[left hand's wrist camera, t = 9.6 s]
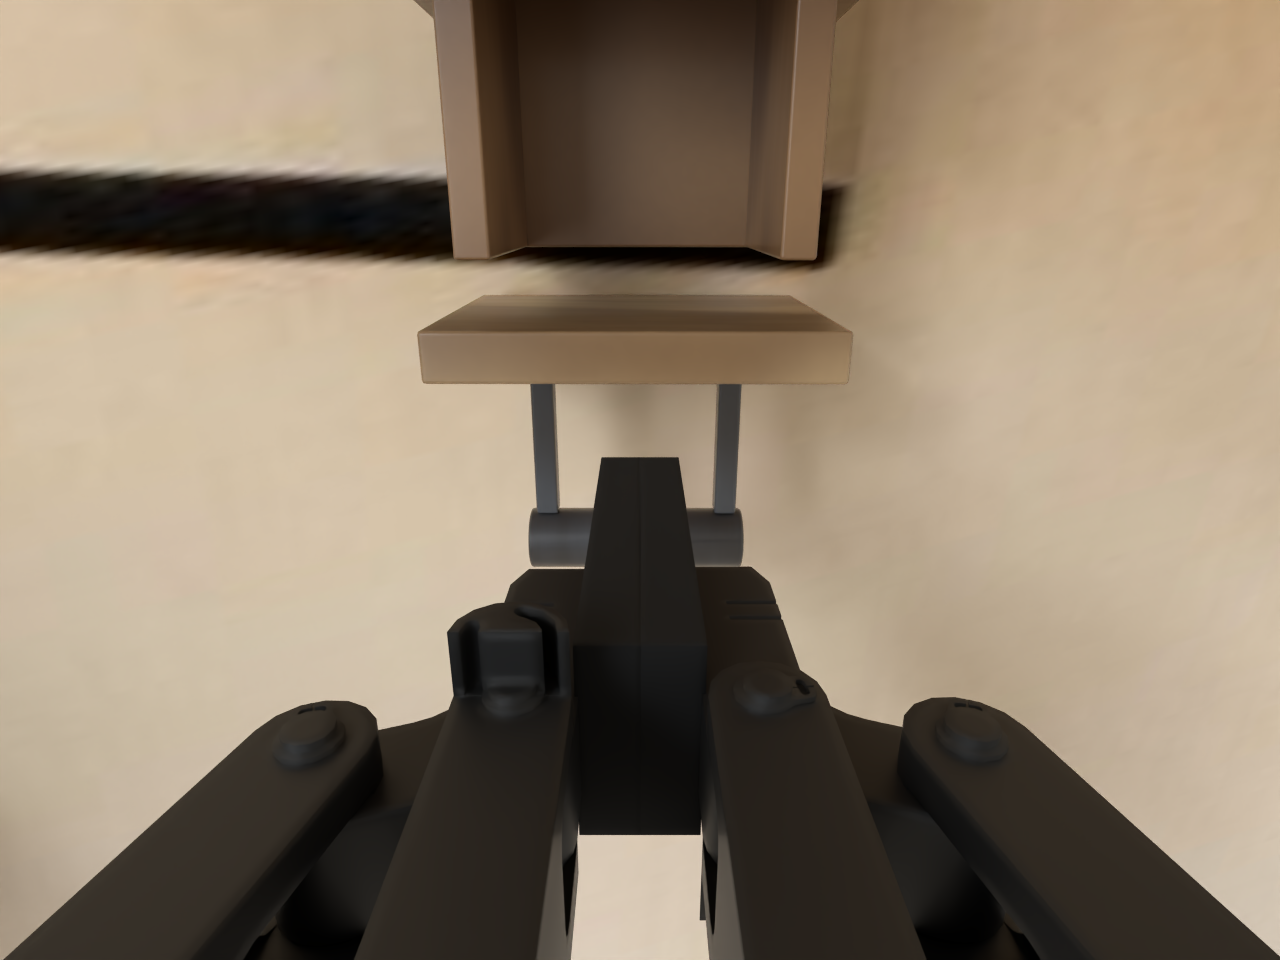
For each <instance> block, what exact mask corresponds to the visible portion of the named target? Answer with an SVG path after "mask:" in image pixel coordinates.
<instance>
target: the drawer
mask: <svg viewBox="0 0 1280 960" xmlns="http://www.w3.org/2000/svg"><path fill="white" fill-rule="evenodd" d="M432 3H433V15H434V27H435V39H436V51H437V63H438V75H439V87H440V99H441V111H442V122H443V134H444V146H445V158H446V170H447V182H448V194H449V206H450V218H451V230H452V242H453V254H454V258H455V259H456V260H489V259H492V258H495V257H497V256H500V255H503V254H506V253H509V252H512V251H515V250H518V249H521V248H524V247H749V248H752V249H754V250H757V251H760V252H762V253H765V254H768V255H771V256H773V257H776V258H779V259H781V260H814V259H816V256H817V245H818V232H819V220H820V208H821V195H822V183H823V171H824V158H825V146H826V134H827V122H828V109H829V97H830V85H831V72H832V60H833V48H834V36H835V23H836V11H837V0H432ZM417 337H418V346H419V356H420V366H421V375H422V381H423V383H425V384H530V386H531V405H532V424H533V443H534V463H535V482H536V501H537V508H534V509H533V510H532V512H531V515H530V522H529V556H530V562H531V565H532V566H534V567H585V562H586V555H587V549H588V542H589V536H590V529H591V523H592V516H593V510H594V508H559V506H560V495H559V470H558V445H557V421H556V396H555V384H717V400H716V426H715V452H714V478H713V504H712V505H713V508H686V510H687V516H688V523H689V529H690V536H691V542H692V549H693V555H694V562H695V567H739V566H740V565H741V562H742V557H743V521H742V515H741V511H740V509H738V508H735V504H736V484H737V464H738V444H739V425H740V405H741V385H742V384H846V383H848V380H849V371H850V361H851V351H852V341H853V333H852V332H851V331H849V330H848V329H846V328H844V327H842V326H841V325H839V324H837V323H836V322H834V321H832V320H831V319H829V318H827V317H825V316H824V315H822V314H820V313H819V312H817V311H815V310H814V309H812V308H810V307H808V306H807V305H805V304H803V303H802V302H800V301H798V300H796V299H795V298H793V297H791V296H766V295H483V296H481V297H480V298H478V299H476V300H474V301H472V302H471V303H469V304H467V305H465V306H463V307H462V308H460V309H458V310H456V311H455V312H453V313H451V314H449V315H447V316H446V317H444V318H442V319H440V320H438V321H437V322H435V323H433V324H431V325H429V326H428V327H426V328H424V329H422V330H421V331H419V332H418V334H417Z"/></svg>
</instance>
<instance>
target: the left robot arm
mask: <svg viewBox="0 0 1280 960" xmlns="http://www.w3.org/2000/svg"><path fill="white" fill-rule="evenodd" d="M447 636H448V646H449V655H450V665H451V674H452V684H453V693H454V697H453V699H452V702H451V705H450V707H449V710H447V711H445V712H443V713H441V714H438V715H436V716H434V717H431V718H428V719H425V720H421V721H418V722H414V723H410V724H405V725H401V726H396V727H391V728H387V729H382V730H378V727H377V720H376V718H375V717H374V716H373V714H372V713H371V712H370V711H369V710H368V709H367V708H366V707H364V706H361V705H358V704H355V703H352V702H350V701H321V702H315V703H310V704H306V705H302V706H299V707H296V708H294V709H292V710H289V711H287V712H284V713H282V714H280V715H277V716H275V717H274V718H273V719H271V720H270V721H268V722H267V723H265V724H264V725H262V726H261V727H260V728H258V729H257V730H255V731H254V732H253V733H252V734H251V735H250V736H249V737H248V738H247V739H245V740H244V741H243V742H242V743H241V744H240V745H239V746H238V747H237V748H236V749H234V750H233V751H232V752H231V753H230V754H229V755H228V756H227V757H226V758H225V759H223V760H222V761H221V762H220V763H219V764H218V765H217V766H216V767H215V768H214V769H213V770H211V771H210V772H209V773H208V774H207V775H206V776H205V777H204V778H203V779H202V780H200V781H199V782H198V783H197V784H196V785H195V786H194V787H193V788H192V789H191V790H189V791H188V792H187V793H186V794H185V795H184V796H183V797H182V798H181V799H180V800H178V801H177V802H176V803H175V804H174V805H173V806H172V807H171V808H170V809H169V810H167V811H166V812H165V813H164V814H163V815H162V816H161V817H160V818H159V819H158V820H156V821H155V822H154V823H153V824H152V825H151V826H150V827H149V828H148V829H147V830H145V831H144V832H143V833H142V834H141V835H140V836H139V837H138V838H137V839H136V840H134V841H133V842H132V843H131V844H130V845H129V846H128V847H127V848H126V849H125V850H123V851H122V852H121V853H120V854H119V855H118V856H117V857H116V858H115V859H114V860H112V861H111V862H110V863H109V864H108V865H107V866H106V867H105V868H104V869H103V870H101V871H100V872H99V873H98V874H97V875H96V876H95V877H94V878H93V879H92V880H90V881H89V882H88V883H87V884H86V885H85V886H84V887H83V888H82V889H81V890H79V891H78V892H77V893H76V894H75V895H74V896H73V897H72V898H71V899H70V900H68V901H67V902H66V903H65V904H64V905H63V906H62V907H61V908H60V909H59V910H57V911H56V912H55V913H54V914H53V915H52V916H51V917H50V918H49V919H48V920H46V921H45V922H44V923H43V924H42V925H41V926H40V927H39V928H38V929H37V930H36V931H34V932H33V933H32V934H31V935H30V936H29V937H28V938H27V939H26V940H25V941H23V942H22V943H21V944H20V945H19V946H18V947H17V948H16V949H15V950H14V951H12V952H11V953H10V954H9V955H8V956H7V957H6V958H5V959H4V960H571V950H572V939H573V927H574V916H575V905H576V894H577V883H578V849H577V836H578V826H579V833H580V835H700V833H701V822H702V832H703V849H702V875H701V901H700V920H706V926H707V938H708V949H709V960H1280V956H1279V955H1277V954H1276V953H1275V952H1274V951H1273V950H1272V949H1271V948H1270V947H1269V946H1267V945H1266V944H1265V943H1264V942H1263V941H1262V940H1261V939H1260V938H1259V937H1257V936H1256V935H1255V934H1254V933H1253V932H1252V931H1251V930H1250V929H1249V928H1248V927H1246V926H1245V925H1244V924H1243V923H1242V922H1241V921H1240V920H1239V919H1238V918H1236V917H1235V916H1234V915H1233V914H1232V913H1231V912H1230V911H1229V910H1228V909H1226V908H1225V907H1224V906H1223V905H1222V904H1221V903H1220V902H1219V901H1218V900H1216V899H1215V898H1214V897H1213V896H1212V895H1211V894H1210V893H1209V892H1208V891H1206V890H1205V889H1204V888H1203V887H1202V886H1201V885H1200V884H1199V883H1198V882H1197V881H1195V880H1194V879H1193V878H1192V877H1191V876H1190V875H1189V874H1188V873H1187V872H1185V871H1184V870H1183V869H1182V868H1181V867H1180V866H1179V865H1178V864H1177V863H1175V862H1174V861H1173V860H1172V859H1171V858H1170V857H1169V856H1168V855H1167V854H1165V853H1164V852H1163V851H1162V850H1161V849H1160V848H1159V847H1158V846H1157V845H1156V844H1154V843H1153V842H1152V841H1151V840H1150V839H1149V838H1148V837H1147V836H1146V835H1144V834H1143V833H1142V832H1141V831H1140V830H1139V829H1138V828H1137V827H1136V826H1134V825H1133V824H1132V823H1131V822H1130V821H1129V820H1128V819H1127V818H1126V817H1124V816H1123V815H1122V814H1121V813H1120V812H1119V811H1118V810H1117V809H1116V808H1115V807H1113V806H1112V805H1111V804H1110V803H1109V802H1108V801H1107V800H1106V799H1105V798H1103V797H1102V796H1101V795H1100V794H1099V793H1098V792H1097V791H1096V790H1095V789H1093V788H1092V787H1091V786H1090V785H1089V784H1088V783H1087V782H1086V781H1085V780H1083V779H1082V778H1081V777H1080V776H1079V775H1078V774H1077V773H1076V772H1075V771H1074V770H1072V769H1071V768H1070V767H1069V766H1068V765H1067V764H1066V763H1065V762H1064V761H1062V760H1061V759H1060V758H1059V757H1058V756H1057V755H1056V754H1055V753H1054V752H1052V751H1051V750H1050V749H1049V748H1048V747H1047V746H1046V745H1045V744H1044V743H1042V742H1041V741H1040V740H1039V739H1038V738H1037V737H1036V736H1035V735H1034V734H1033V733H1031V732H1030V731H1029V730H1028V729H1027V728H1026V727H1025V726H1023V725H1022V724H1020V723H1019V722H1017V721H1016V720H1015V719H1013V718H1012V717H1010V716H1009V715H1007V714H1006V713H1004V712H1002V711H1000V710H997V709H995V708H992V707H990V706H988V705H985V704H983V703H980V702H976V701H972V700H966V699H961V698H956V697H947V698H930V699H927V700H924V701H922V702H919V703H916V704H914V705H913V706H912V707H911V708H910V709H909V710H908V712H907V713H906V714H905V715H904V720H903V727H899V726H894V725H890V724H885V723H880V722H876V721H871V720H866V719H863V718H859V717H856V716H853V715H849V714H846V713H844V712H842V711H840V710H838V709H836V708H833V707H831V706H830V703H829V701H828V698H827V696H826V694H825V692H824V691H823V690H822V688H821V687H820V685H819V684H818V682H817V681H815V680H814V679H813V678H811V677H810V676H808V675H807V674H805V673H804V672H802V671H801V670H800V669H799V666H798V663H797V660H796V657H795V654H794V651H793V648H792V646H791V643H790V640H789V637H788V634H787V631H786V628H785V625H784V622H783V620H781V614H780V611H779V608H778V605H777V604H776V599H775V597H774V594H773V591H772V588H771V585H770V582H769V581H767V580H766V579H765V578H764V577H763V576H761V575H760V574H759V573H758V572H757V571H756V570H754V569H753V568H752V567H695V562H694V555H693V549H692V542H691V536H690V529H689V523H688V516H687V510H686V503H685V497H684V491H683V484H682V478H681V471H680V465H679V458H678V457H602V458H601V465H600V471H599V478H598V484H597V491H596V497H595V503H594V510H593V516H592V523H591V529H590V536H589V542H588V549H587V555H586V562H585V568H584V569H529V570H527V571H526V572H525V573H524V574H523V575H522V576H520V577H519V578H518V579H517V580H516V581H514V582H513V583H512V584H511V585H510V588H509V591H508V594H507V597H506V600H505V602H504V603H496V604H492V605H489V606H485V607H482V608H479V609H476V610H473V611H471V612H470V613H468V614H466V615H465V616H463V617H461V618H459V619H458V620H457V621H456V622H455V623H454V624H453V625H452V627H451V628H450V629H449V630H448V632H447Z"/></svg>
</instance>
